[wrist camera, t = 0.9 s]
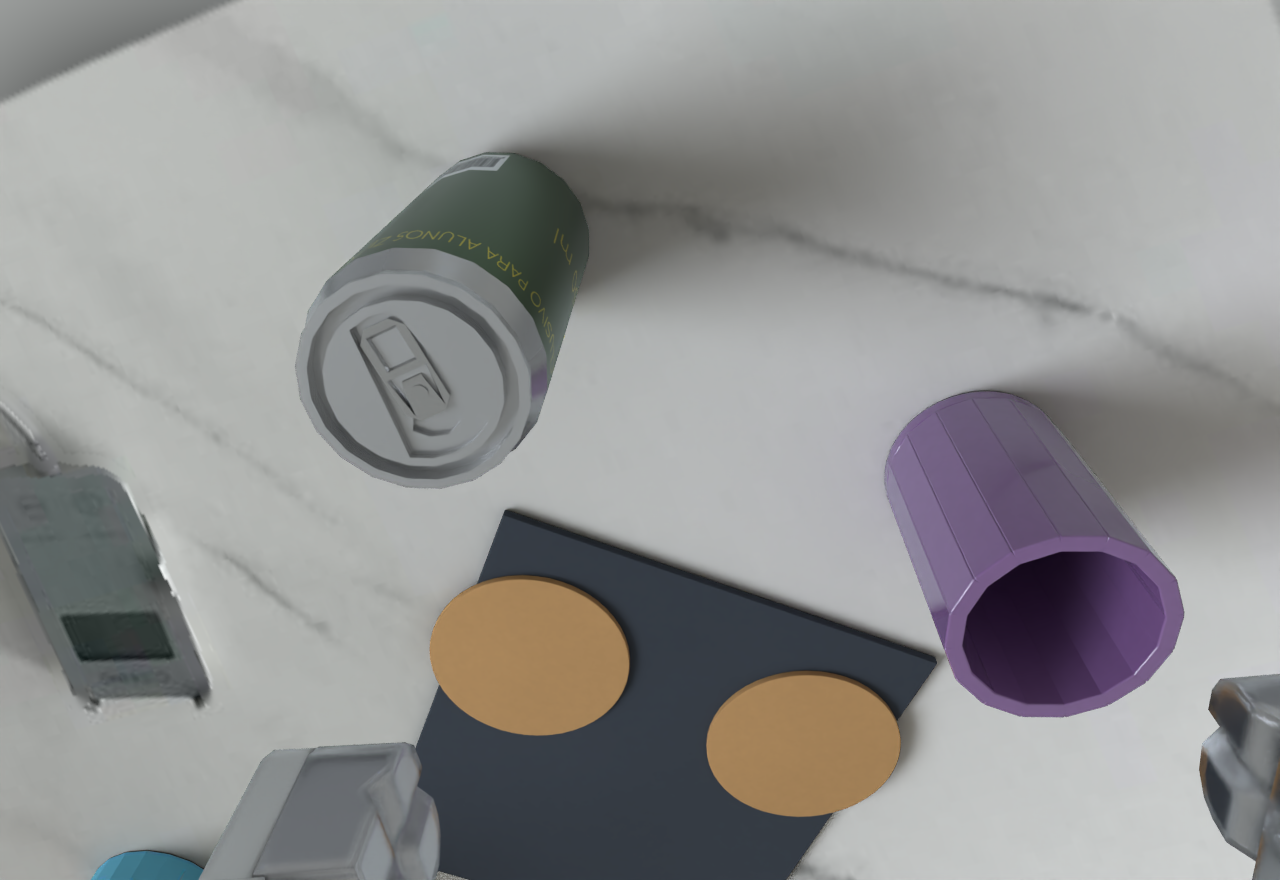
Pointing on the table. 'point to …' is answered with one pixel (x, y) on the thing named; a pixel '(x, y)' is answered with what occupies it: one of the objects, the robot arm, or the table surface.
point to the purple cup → (1027, 560)
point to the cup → (147, 867)
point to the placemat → (645, 719)
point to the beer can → (447, 325)
